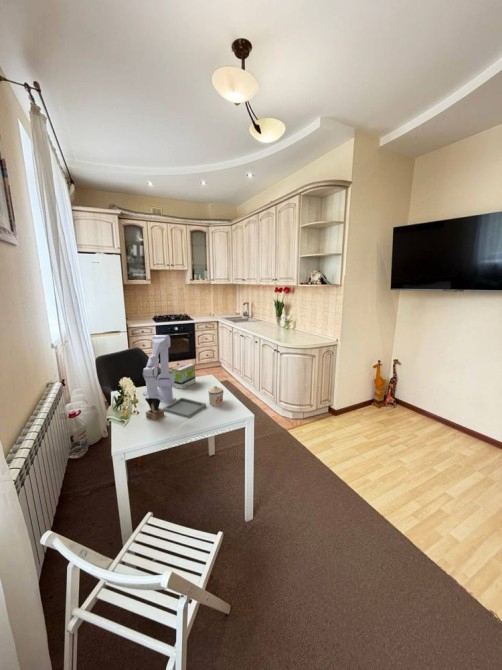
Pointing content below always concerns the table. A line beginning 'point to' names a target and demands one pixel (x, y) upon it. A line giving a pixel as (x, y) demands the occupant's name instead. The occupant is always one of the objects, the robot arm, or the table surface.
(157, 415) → the wooden roll holder
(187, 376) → the tea box
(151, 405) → the dowel
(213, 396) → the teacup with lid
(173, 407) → the tray
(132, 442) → the table surface
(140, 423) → the table surface
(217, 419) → the table surface
